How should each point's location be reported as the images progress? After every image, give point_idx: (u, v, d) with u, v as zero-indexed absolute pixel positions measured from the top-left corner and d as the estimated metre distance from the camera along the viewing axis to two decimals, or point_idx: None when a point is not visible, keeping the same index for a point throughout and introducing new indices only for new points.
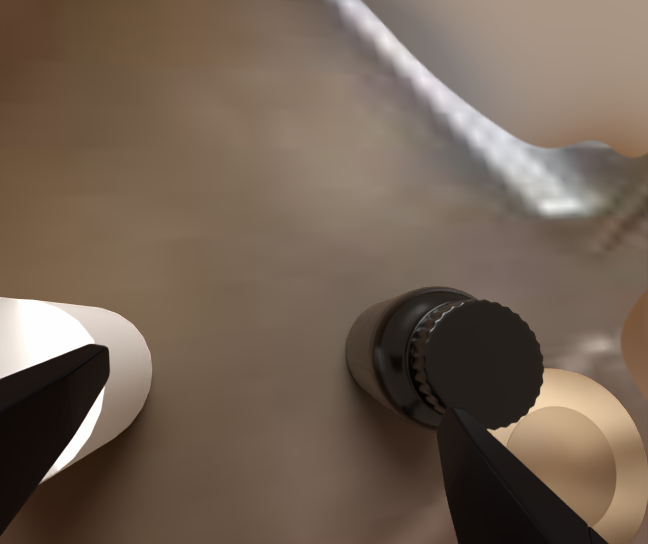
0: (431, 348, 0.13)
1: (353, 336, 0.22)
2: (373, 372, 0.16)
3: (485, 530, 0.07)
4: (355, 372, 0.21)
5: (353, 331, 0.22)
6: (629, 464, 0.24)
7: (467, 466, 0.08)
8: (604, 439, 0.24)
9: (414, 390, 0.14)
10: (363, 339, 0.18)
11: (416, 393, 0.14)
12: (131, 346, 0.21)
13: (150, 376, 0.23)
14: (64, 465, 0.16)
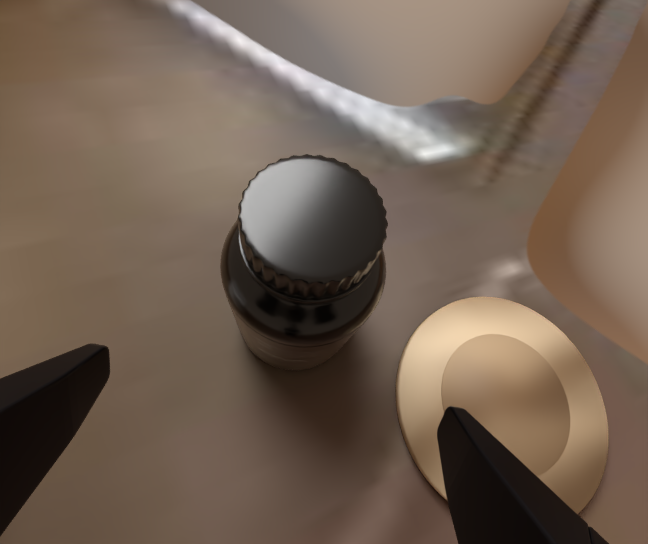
0: (247, 207, 0.11)
1: None
2: (225, 292, 0.13)
3: (485, 530, 0.07)
4: (242, 334, 0.18)
5: None
6: (574, 379, 0.22)
7: (467, 466, 0.08)
8: (541, 358, 0.22)
9: (252, 276, 0.11)
10: None
11: (255, 279, 0.11)
12: None
13: None
14: None
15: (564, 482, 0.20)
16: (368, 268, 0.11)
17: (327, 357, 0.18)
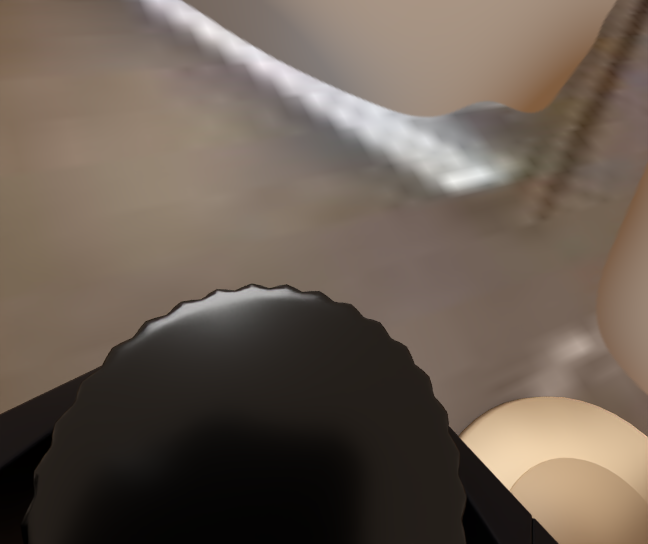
0: (57, 484, 0.04)
1: None
2: None
3: None
4: None
5: None
6: None
7: None
8: (636, 496, 0.15)
9: None
10: None
11: None
12: None
13: None
14: None
15: None
16: None
17: None
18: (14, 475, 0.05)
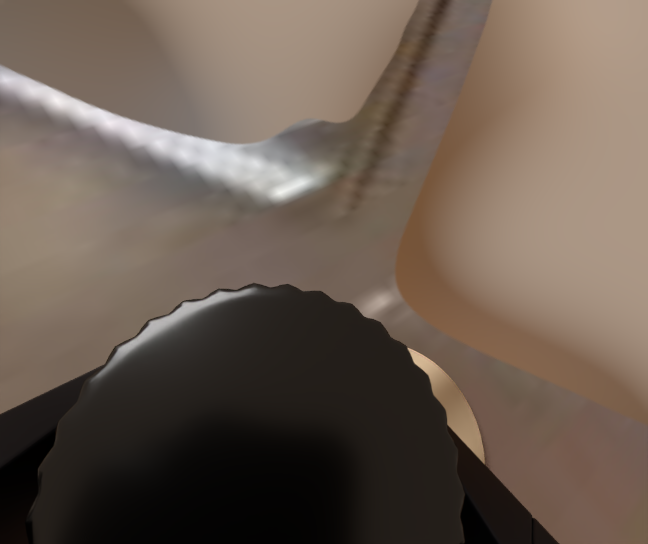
0: (60, 482, 0.04)
1: None
2: None
3: None
4: None
5: None
6: (448, 410, 0.22)
7: None
8: None
9: None
10: None
11: None
12: None
13: None
14: None
15: None
16: None
17: None
18: (14, 475, 0.05)
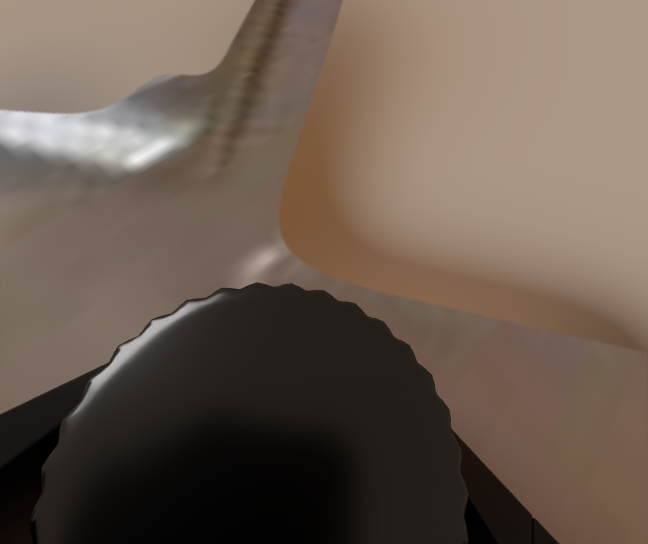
0: (64, 481, 0.04)
1: None
2: None
3: None
4: None
5: None
6: None
7: None
8: None
9: None
10: None
11: None
12: None
13: None
14: None
15: None
16: None
17: None
18: (14, 475, 0.05)
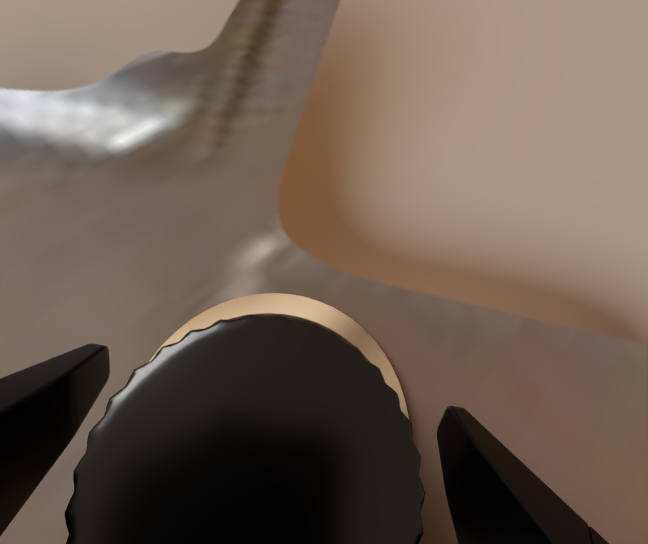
0: (92, 482, 0.04)
1: None
2: None
3: (485, 530, 0.07)
4: None
5: None
6: None
7: (467, 466, 0.08)
8: None
9: None
10: None
11: None
12: None
13: None
14: None
15: None
16: None
17: None
18: None
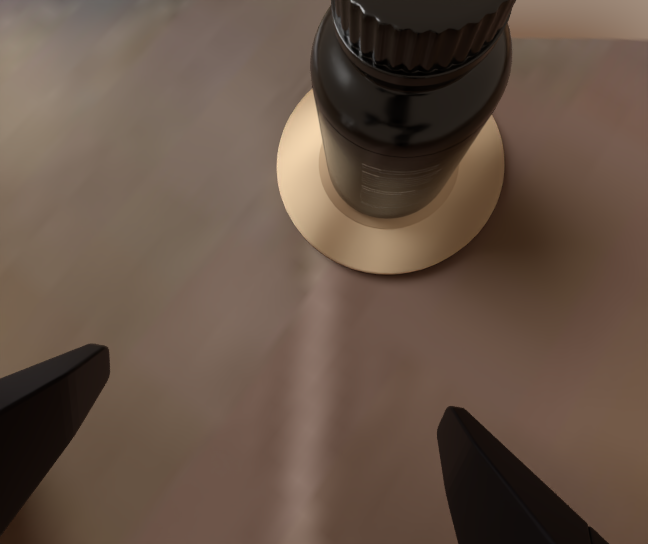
0: None
1: None
2: (324, 111, 0.12)
3: (485, 530, 0.07)
4: (339, 182, 0.17)
5: None
6: None
7: (467, 466, 0.08)
8: None
9: (360, 62, 0.10)
10: None
11: (364, 65, 0.10)
12: None
13: None
14: None
15: (468, 198, 0.20)
16: (509, 7, 0.08)
17: (434, 191, 0.17)
18: None
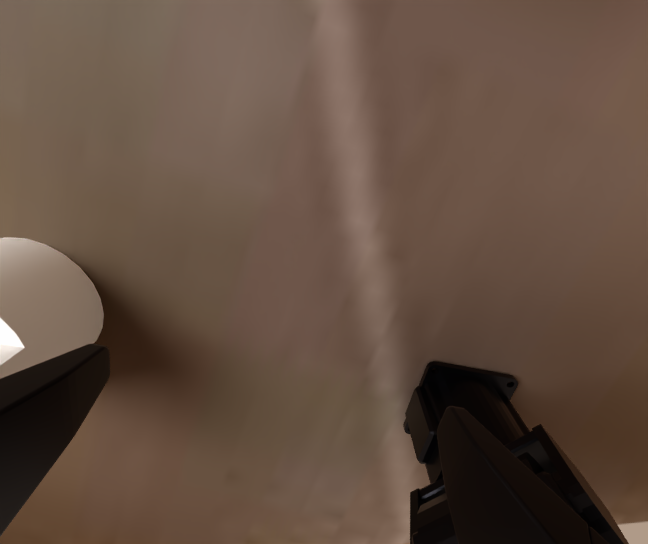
0: None
1: None
2: None
3: (485, 530, 0.07)
4: None
5: None
6: None
7: (467, 466, 0.08)
8: None
9: None
10: None
11: None
12: None
13: (47, 248, 0.21)
14: (22, 341, 0.17)
15: None
16: None
17: None
18: None
